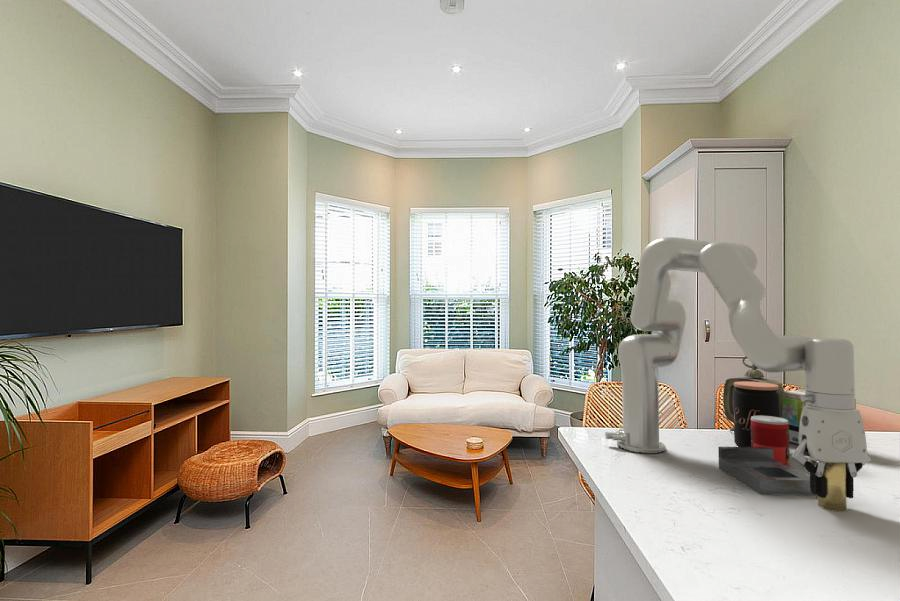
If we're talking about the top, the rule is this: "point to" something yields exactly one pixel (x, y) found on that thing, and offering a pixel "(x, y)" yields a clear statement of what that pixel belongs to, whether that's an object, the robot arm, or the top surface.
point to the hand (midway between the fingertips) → (831, 494)
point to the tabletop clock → (752, 376)
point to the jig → (762, 471)
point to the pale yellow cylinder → (834, 487)
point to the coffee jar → (752, 407)
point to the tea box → (793, 411)
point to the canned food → (771, 436)
